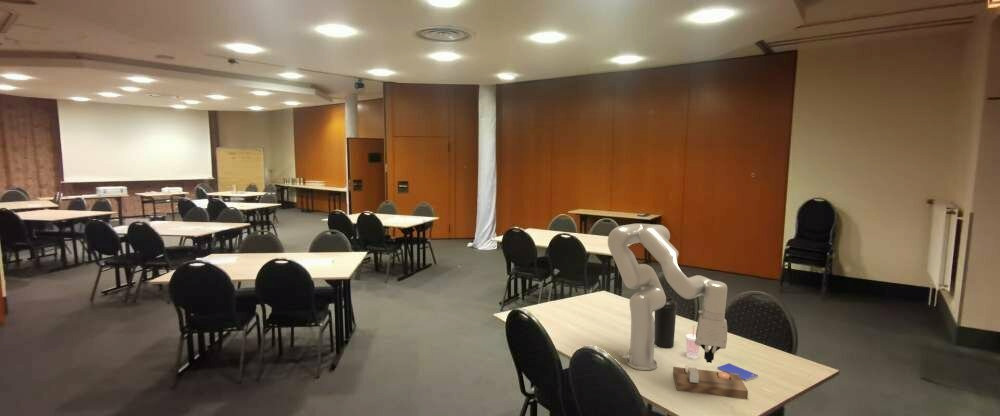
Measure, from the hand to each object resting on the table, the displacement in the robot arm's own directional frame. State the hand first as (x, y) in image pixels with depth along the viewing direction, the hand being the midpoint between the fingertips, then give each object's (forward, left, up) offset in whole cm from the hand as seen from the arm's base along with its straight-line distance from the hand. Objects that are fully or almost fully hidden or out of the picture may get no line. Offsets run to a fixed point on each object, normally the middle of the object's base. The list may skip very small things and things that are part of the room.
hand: (708, 361), depth 173 cm
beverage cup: (-1, +30, -11) cm, 32 cm away
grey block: (-5, -1, -8) cm, 9 cm away
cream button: (-5, +6, -9) cm, 12 cm away
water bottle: (-12, +40, -11) cm, 43 cm away
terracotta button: (+7, +6, -10) cm, 14 cm away
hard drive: (+14, +17, -12) cm, 25 cm away
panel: (+1, +3, -11) cm, 11 cm away
